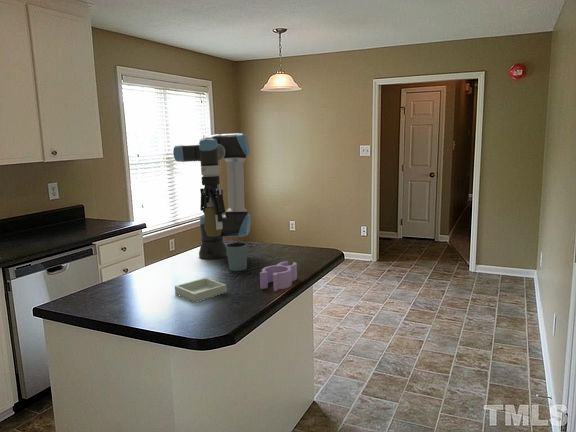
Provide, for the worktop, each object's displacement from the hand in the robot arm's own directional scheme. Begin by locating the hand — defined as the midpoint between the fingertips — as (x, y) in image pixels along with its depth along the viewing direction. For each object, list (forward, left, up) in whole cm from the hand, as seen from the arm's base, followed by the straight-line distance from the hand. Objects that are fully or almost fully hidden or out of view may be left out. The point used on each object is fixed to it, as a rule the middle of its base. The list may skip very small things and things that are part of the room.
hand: (213, 228), depth 201 cm
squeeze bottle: (0, 0, -3) cm, 3 cm away
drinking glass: (-9, +18, -24) cm, 31 cm away
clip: (+23, +17, -24) cm, 38 cm away
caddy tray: (+9, -14, -24) cm, 29 cm away
